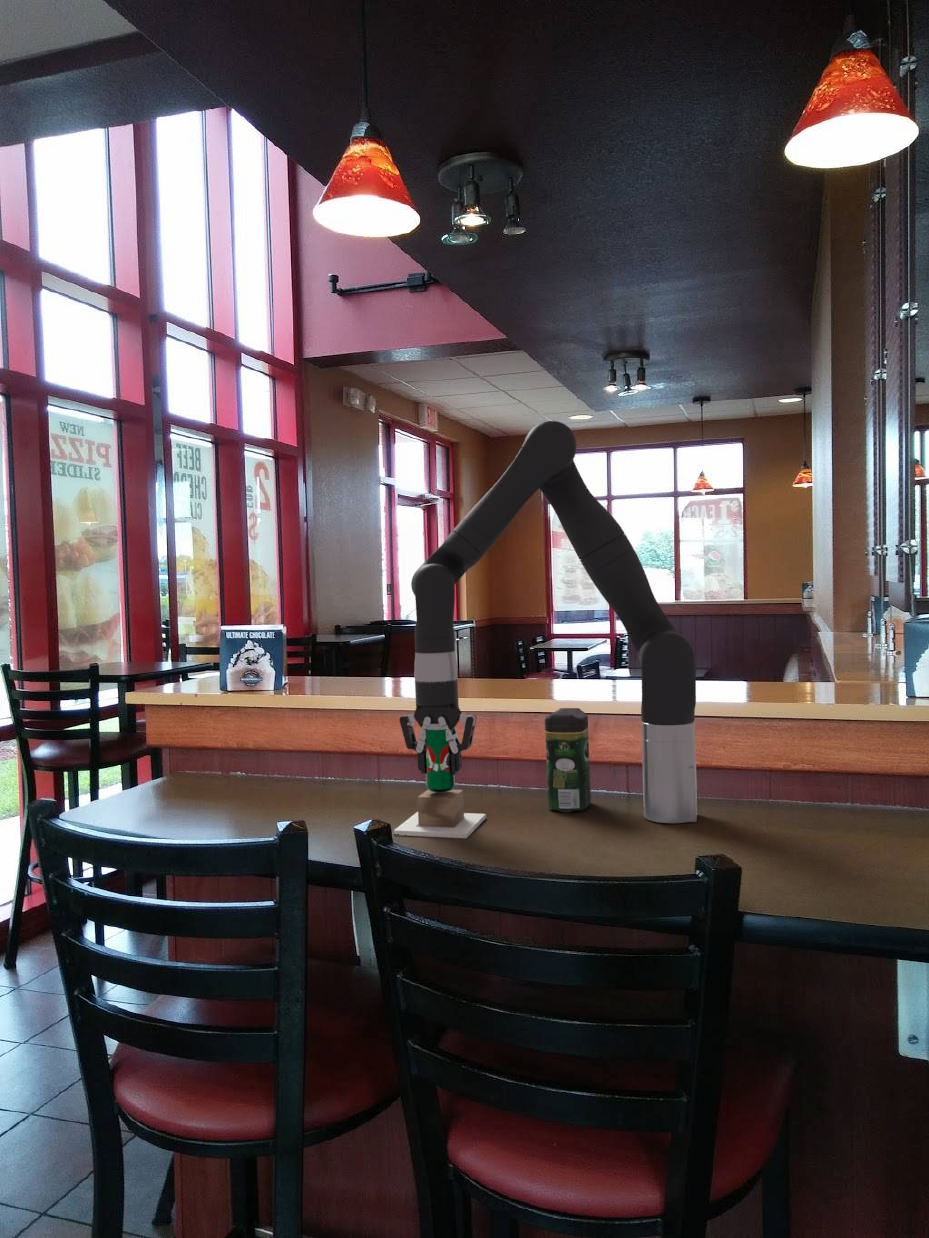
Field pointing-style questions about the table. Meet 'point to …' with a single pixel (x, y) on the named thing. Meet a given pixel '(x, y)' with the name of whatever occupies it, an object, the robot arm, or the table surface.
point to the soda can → (438, 760)
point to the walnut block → (440, 808)
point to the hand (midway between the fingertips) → (439, 772)
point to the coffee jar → (567, 760)
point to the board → (457, 831)
